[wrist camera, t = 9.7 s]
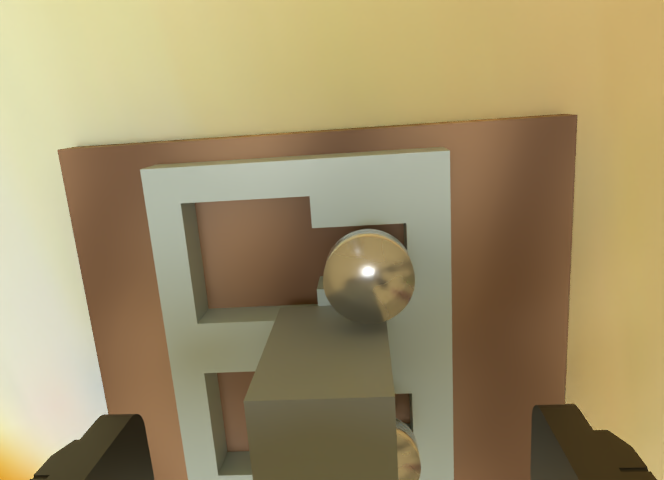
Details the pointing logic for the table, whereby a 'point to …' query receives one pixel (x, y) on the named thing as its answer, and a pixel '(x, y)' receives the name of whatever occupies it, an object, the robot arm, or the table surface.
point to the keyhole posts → (374, 302)
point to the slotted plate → (252, 325)
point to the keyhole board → (309, 263)
